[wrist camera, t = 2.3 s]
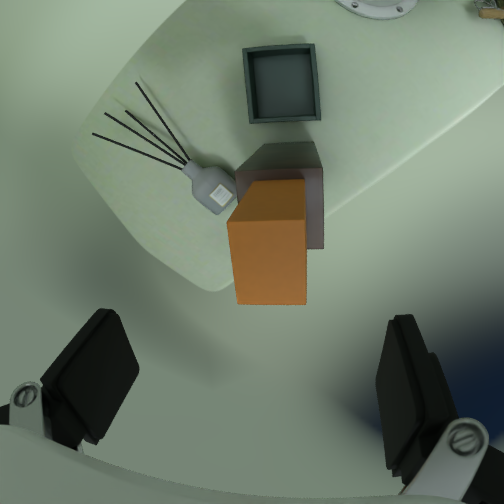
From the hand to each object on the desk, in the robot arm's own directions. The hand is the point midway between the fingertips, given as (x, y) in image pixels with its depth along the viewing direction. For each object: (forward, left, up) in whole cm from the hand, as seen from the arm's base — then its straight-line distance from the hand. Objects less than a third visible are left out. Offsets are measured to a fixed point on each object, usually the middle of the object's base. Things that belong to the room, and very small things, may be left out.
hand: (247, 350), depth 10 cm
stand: (0, 0, -30) cm, 30 cm away
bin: (0, -10, -30) cm, 32 cm away
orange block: (0, 0, -13) cm, 13 cm away
